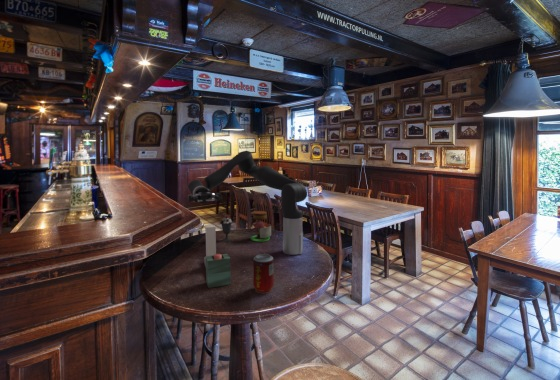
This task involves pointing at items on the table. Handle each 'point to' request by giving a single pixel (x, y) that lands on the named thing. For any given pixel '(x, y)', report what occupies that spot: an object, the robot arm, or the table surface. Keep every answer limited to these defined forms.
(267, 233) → the toy burger
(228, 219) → the sundae
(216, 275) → the rail
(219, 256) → the red rounded capsule
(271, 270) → the soda can
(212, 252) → the carriage
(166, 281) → the table surface
